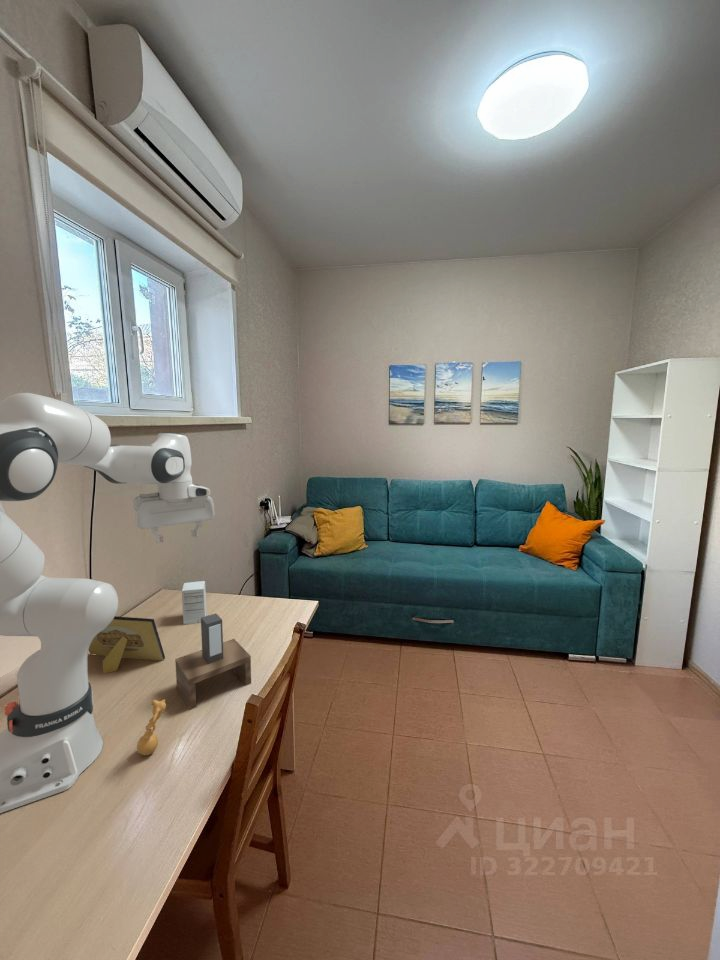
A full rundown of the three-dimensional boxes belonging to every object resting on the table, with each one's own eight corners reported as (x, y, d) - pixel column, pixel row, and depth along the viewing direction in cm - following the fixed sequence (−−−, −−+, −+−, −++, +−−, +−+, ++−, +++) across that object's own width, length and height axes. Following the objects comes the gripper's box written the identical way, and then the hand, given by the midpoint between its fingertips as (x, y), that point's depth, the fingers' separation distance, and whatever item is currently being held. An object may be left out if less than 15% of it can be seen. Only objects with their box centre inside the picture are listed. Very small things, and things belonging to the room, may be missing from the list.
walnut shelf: (189, 709, 96) (188, 679, 95) (176, 686, 105) (175, 659, 104) (251, 683, 107) (250, 655, 106) (234, 664, 115) (234, 638, 114)
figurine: (146, 737, 88) (143, 688, 86) (174, 735, 88) (171, 686, 87) (129, 769, 79) (125, 716, 78) (161, 767, 80) (157, 713, 79)
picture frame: (165, 657, 117) (159, 613, 114) (146, 679, 109) (139, 632, 105) (93, 652, 120) (85, 608, 116) (69, 673, 111) (60, 627, 107)
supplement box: (185, 615, 144) (183, 582, 142) (207, 612, 146) (205, 580, 144) (182, 625, 137) (181, 590, 135) (205, 622, 139) (204, 588, 137)
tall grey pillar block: (208, 664, 101) (206, 624, 100) (202, 656, 105) (200, 617, 103) (223, 658, 104) (222, 619, 102) (217, 651, 107) (215, 613, 106)
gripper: (135, 496, 100) (139, 548, 102) (215, 489, 113) (217, 535, 115) (130, 493, 105) (133, 543, 107) (208, 486, 118) (209, 531, 120)
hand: (177, 539), depth 111 cm, fingers open, 8 cm apart
